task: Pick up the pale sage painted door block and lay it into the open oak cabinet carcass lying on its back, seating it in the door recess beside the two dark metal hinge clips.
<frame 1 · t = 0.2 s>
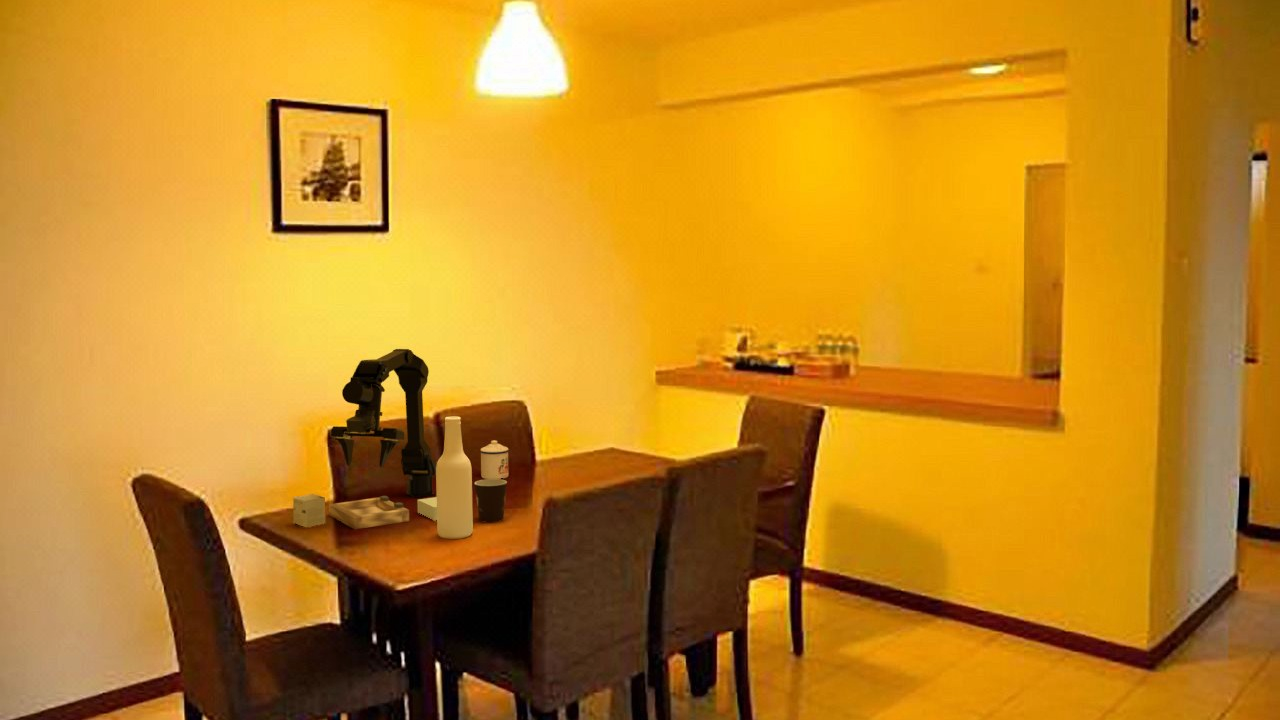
hand: (364, 466, 281), 15 cm above the table, tool pointing down, fingers open, 9 cm apart
skincare box: (309, 525, 281), on the table
coffee mug: (493, 518, 287), on the table
carcass: (368, 518, 288), on the table
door: (436, 516, 290), on the table
alcohol: (455, 535, 270), on the table
teacup with lid: (496, 476, 342), on the table
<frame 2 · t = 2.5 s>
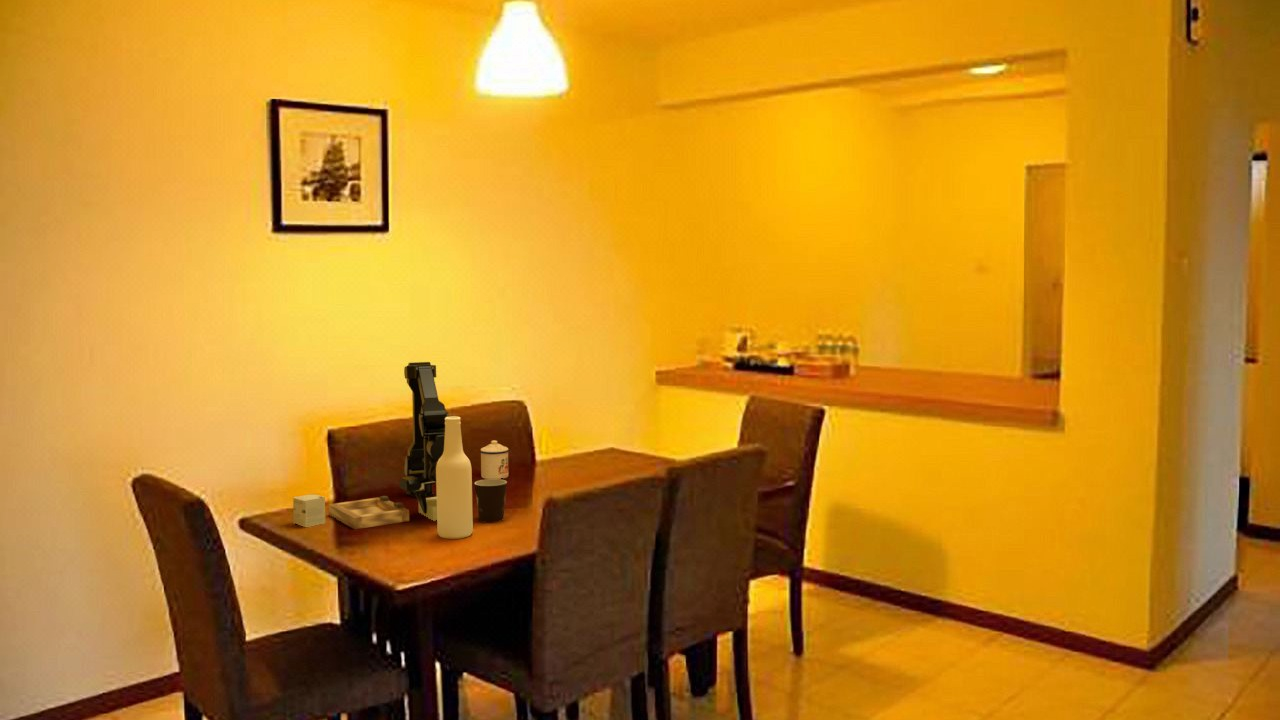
hand: (436, 511, 290), 1 cm above the table, tool pointing down, fingers closed on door, 6 cm apart
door: (436, 516, 290), on the table, touching gripper
everything else where it was.
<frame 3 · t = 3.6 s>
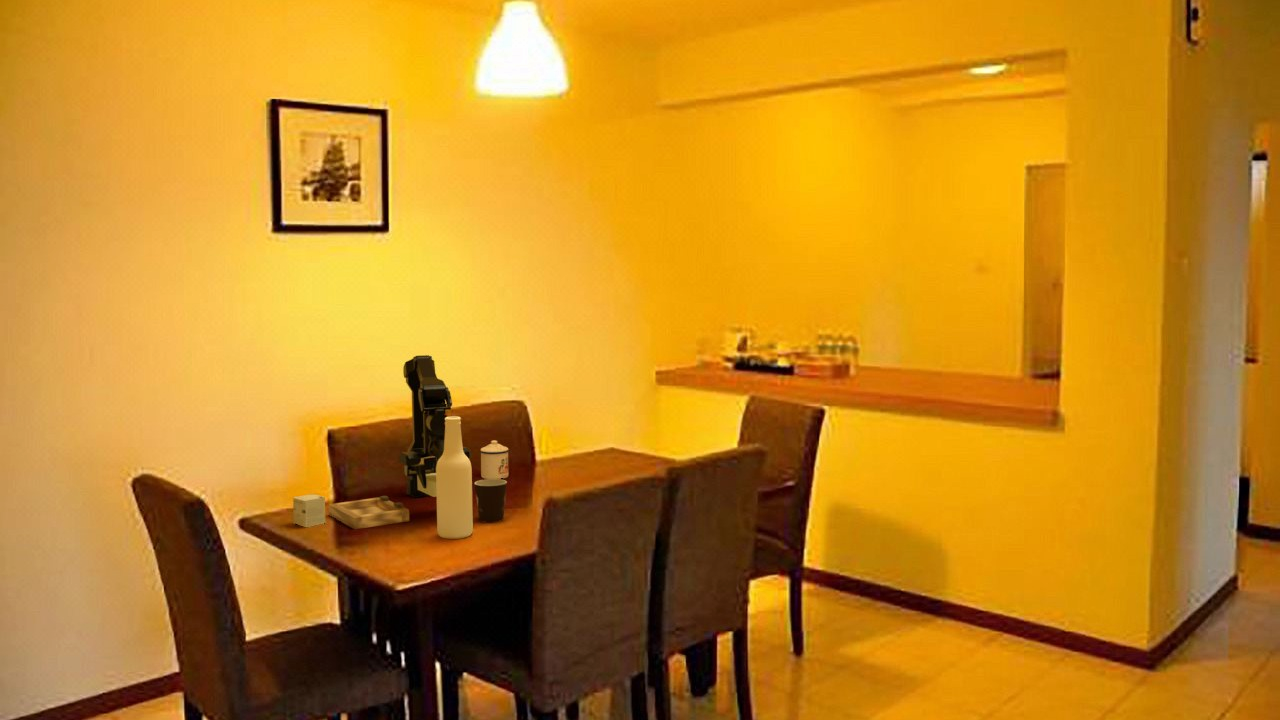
hand: (435, 486, 289), 8 cm above the table, tool pointing down, fingers closed on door, 6 cm apart
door: (435, 491, 290), point 6 cm above the table, touching gripper
everything else where it was.
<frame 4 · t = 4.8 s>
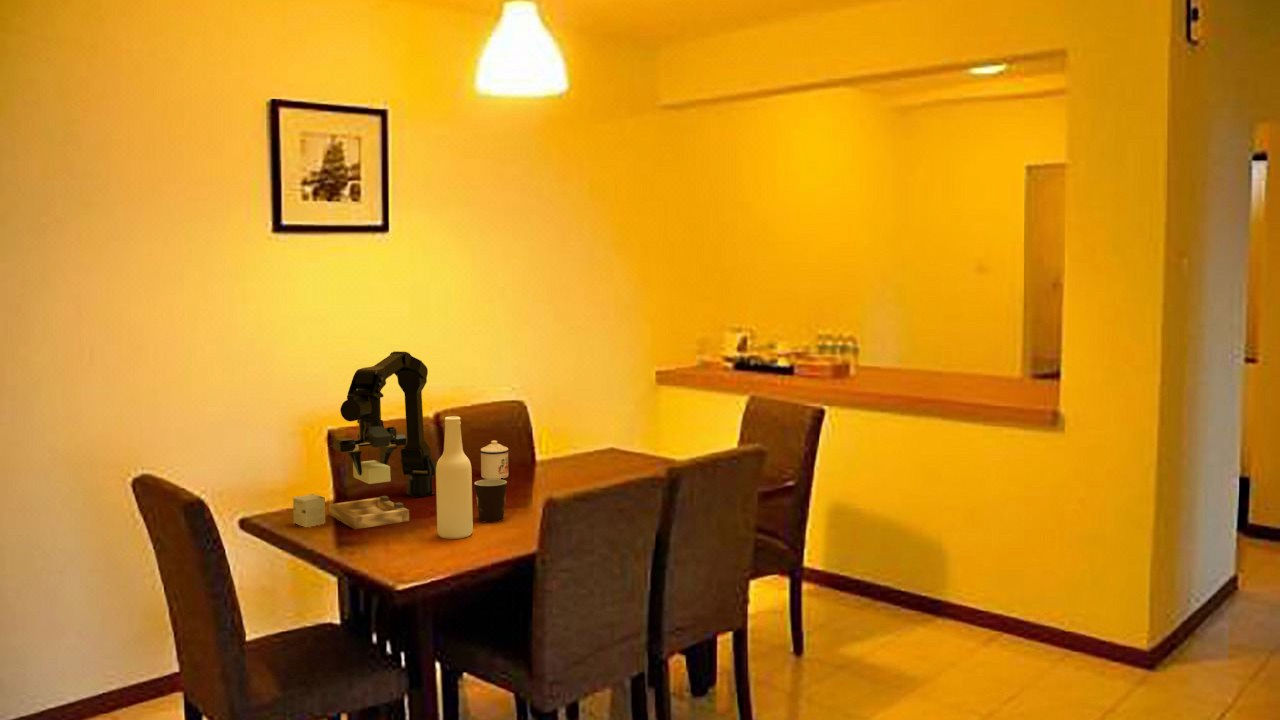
hand: (371, 473, 286), 12 cm above the table, tool pointing down, fingers closed on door, 6 cm apart
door: (371, 479, 286), point 11 cm above the table, touching gripper
everything else where it was.
when the fingers open (4 cm above the table, at t = 6.9 s): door drops 1 cm, resting on carcass.
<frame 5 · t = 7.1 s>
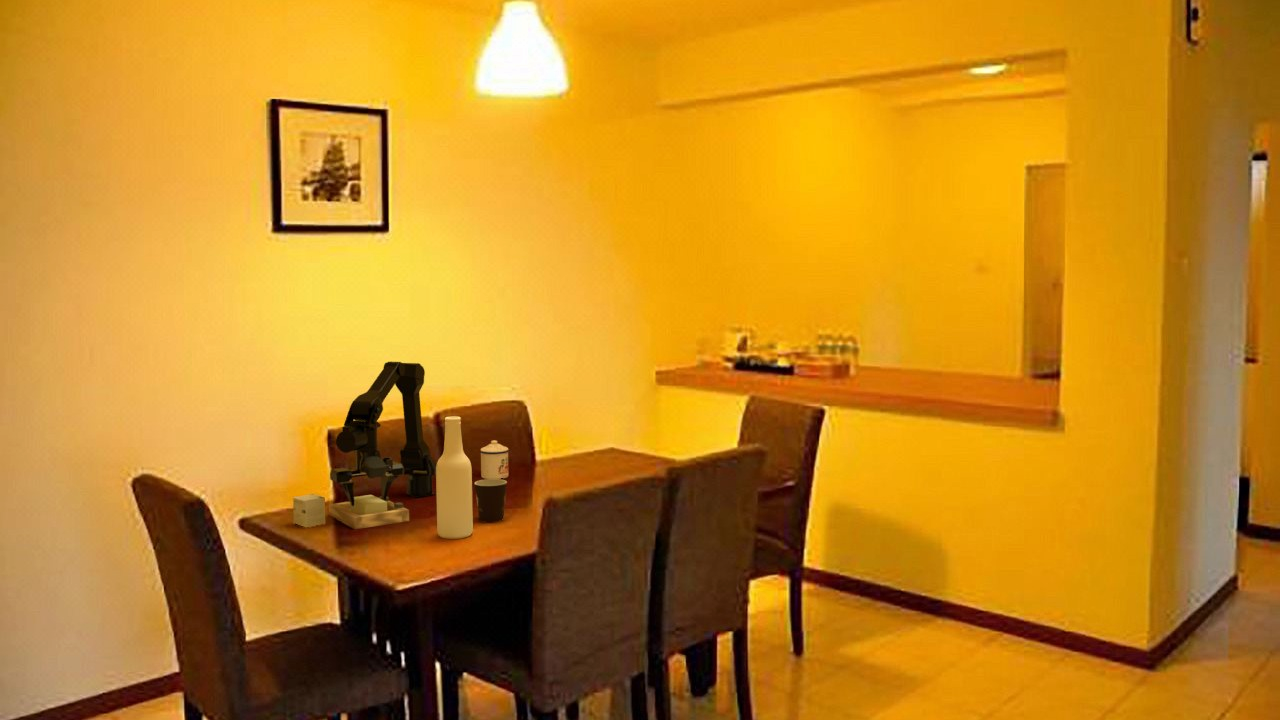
hand: (368, 503, 287), 4 cm above the table, tool pointing down, fingers open, 8 cm apart
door: (368, 514, 287), point 1 cm above the table, touching carcass
everything else where it was.
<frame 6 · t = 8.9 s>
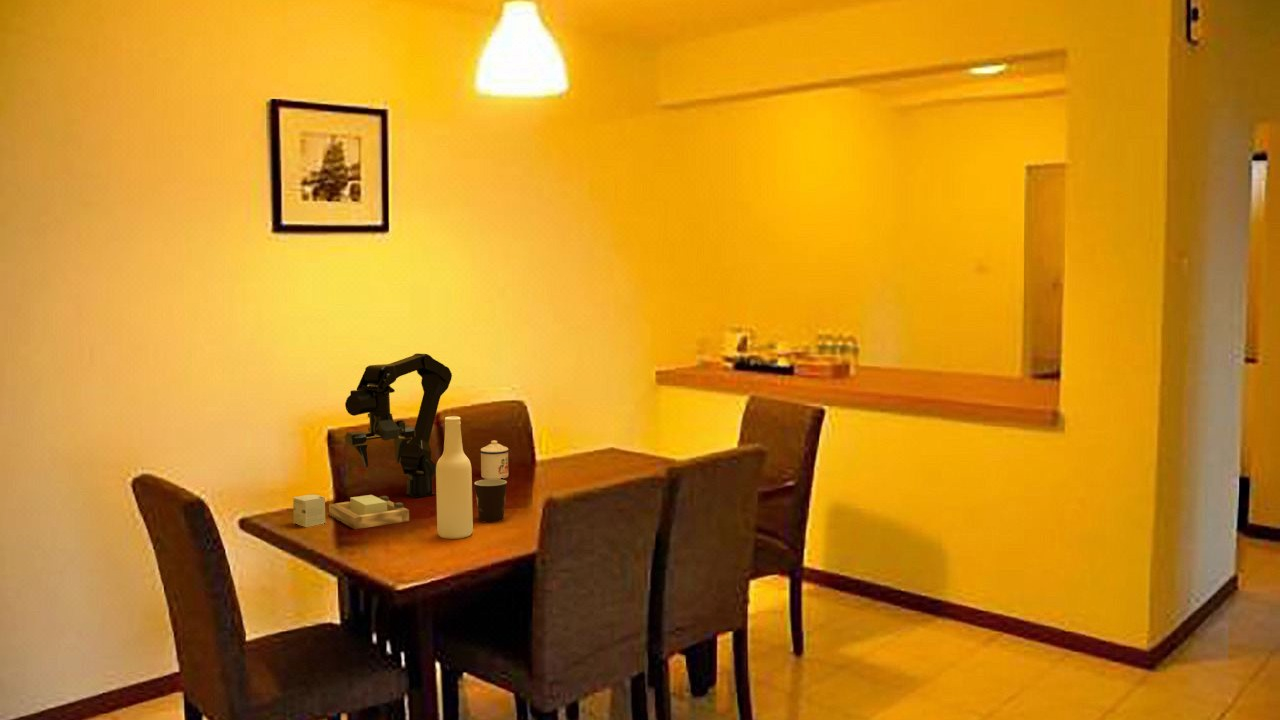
hand: (382, 464, 301), 12 cm above the table, tool pointing down, fingers open, 9 cm apart
nothing on the table moved.
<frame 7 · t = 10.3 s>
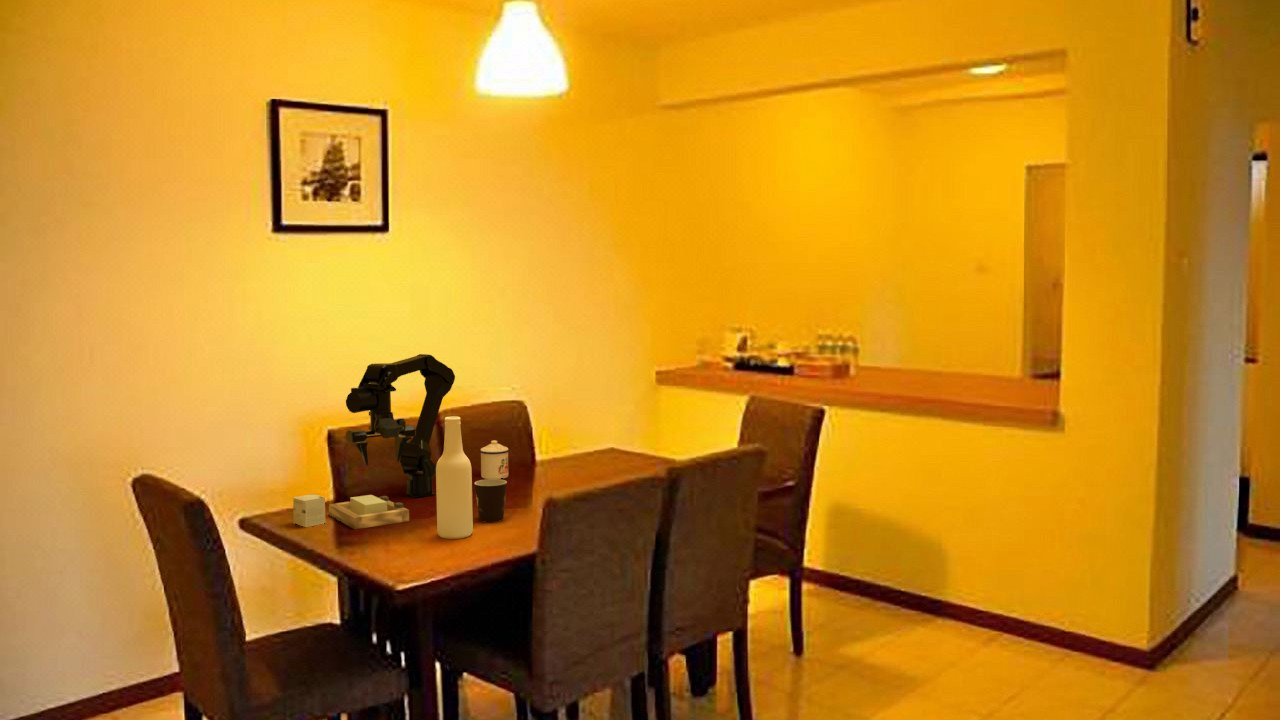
hand: (382, 463, 301), 12 cm above the table, tool pointing down, fingers open, 9 cm apart
nothing on the table moved.
at the end: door inside the target area on the carcass (0.1 cm from its centre), point 1.0 cm above the carcass's base; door tilted 0°; the gripper is holding nothing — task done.
